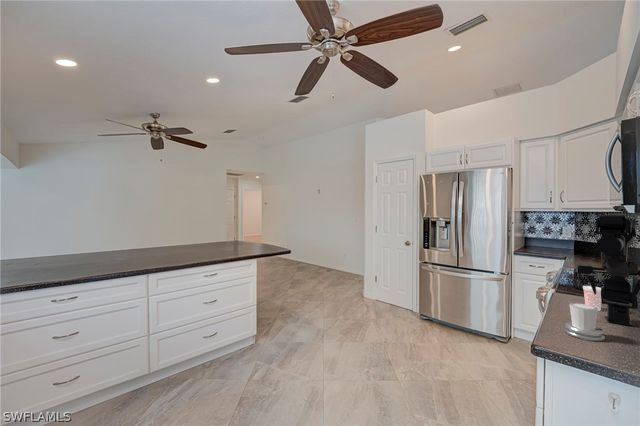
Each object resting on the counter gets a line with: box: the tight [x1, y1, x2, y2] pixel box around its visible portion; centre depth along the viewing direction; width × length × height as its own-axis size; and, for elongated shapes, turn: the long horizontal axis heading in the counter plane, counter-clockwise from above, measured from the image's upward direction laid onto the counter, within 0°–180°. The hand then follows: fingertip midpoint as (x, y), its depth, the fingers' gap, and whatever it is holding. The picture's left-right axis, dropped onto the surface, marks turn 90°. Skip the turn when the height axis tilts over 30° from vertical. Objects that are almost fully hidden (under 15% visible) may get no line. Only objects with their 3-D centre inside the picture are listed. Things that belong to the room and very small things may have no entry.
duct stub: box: [563, 321, 606, 343], centre depth 93 cm, size 10×10×3 cm
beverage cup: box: [582, 285, 602, 312], centre depth 118 cm, size 6×6×14 cm
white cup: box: [569, 302, 599, 330], centre depth 93 cm, size 7×7×7 cm
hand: (613, 296), depth 96 cm, fingers open, 9 cm apart
